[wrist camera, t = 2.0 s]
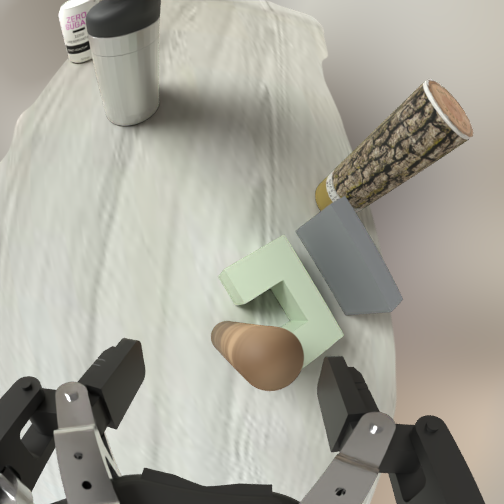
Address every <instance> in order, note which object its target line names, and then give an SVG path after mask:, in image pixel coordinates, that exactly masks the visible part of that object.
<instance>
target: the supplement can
mask: <svg viewBox="0 0 504 504" xmlns="http://www.w3.org/2000/svg"><path fill="white" fill-rule="evenodd" d="M97 3H99V0H69V1H67V2H66V3H64V4H63V5H62V6H61V9H60V12H59V20H60V24H61V29H62V34H63V38H64V42H65V46H66V50H67V54H68V58H69V60H70V61H71V62H75V63H81V62H85V61H88V60H90V59H92V54H91V49H90V44H89V39H88V32H87V27H86V15H87V13H88V12H89V10H90V9H91V8H92V7H93V6H95V5H96V4H97Z"/></svg>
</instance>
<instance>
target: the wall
mask: <svg viewBox="0 0 504 504" xmlns="http://www.w3.org/2000/svg"><path fill="white" fill-rule="evenodd" d="M296 233H297V234H298V236H299V238H300V239H301V241H302V242H303V244H304V246H305V247H306V249H307V251H308V252H309V254H310V256H311V257H312V259H313V261H314V262H315V264H316V266H317V267H318V269H319V271H320V272H321V274H322V276H323V277H324V279H325V281H326V282H327V284H328V286H329V288H330V289H331V291H332V293H333V294H334V296H335V298H336V300H337V301H338V303H339V305H340V307H341V308H342V310H343V312H344V314H345V315H355V314H371V313H384V312H392V311H393V310H394V309H395V307H397V305H398V304H399V303H400V302H401V301H402V300H403V298H402V296H401V294H400V292H399V290H398V288H397V286H396V284H395V282H394V280H393V278H392V276H391V274H390V272H389V270H388V268H387V266H386V264H385V263H384V261H383V259H382V257H381V255H380V253H379V252H378V250H377V248H376V246H375V244H374V243H373V241H372V239H371V237H370V236H369V234H368V232H367V231H366V229H365V227H364V225H363V224H362V222H361V220H360V219H359V217H358V216H357V214H356V212H355V211H354V209H353V208H352V206H351V204H350V203H349V201H348V200H347V198H346V197H345V196H344V197H342V198H340V199H338V200H336V201H335V202H333V203H331V204H330V205H328V206H327V207H326V208H325V209H323V210H322V211H321V212H319V213H318V214H317V215H316V216H314V217H313V218H312V219H310V220H309V221H308V222H307V223H305V224H304V225H303V226H301V227H300V228H299V229H298V230H296Z"/></svg>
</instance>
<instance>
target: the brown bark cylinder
mask: <svg viewBox="0 0 504 504" xmlns="http://www.w3.org/2000/svg"><path fill="white" fill-rule="evenodd" d="M472 136H473V129H472V126H471V123H470V121H469V119H468V117H467V116H466V113H465V112H464V110H463V109H462V107H461V106H460V104H459V103H458V102H457V101H456V99H455V98H454V97H453V96H452V95H451V94H450V93H449V92H448V91H447V90H446V89H445V88H444V87H443V86H442V85H440V84H439V83H438V82H436V81H434V80H432V79H427V80H426V81H425V82H424V83H423V84H422V85H420V86H419V88H417V89H416V90H415V91H414V92H413V93H412V94H411V95H410V96H409V97H408V98H407V99H406V100H405V101H404V102H403V103H402V104H401V105H400V106H399V107H398V108H397V109H396V110H395V111H394V112H393V113H392V114H391V115H390V116H389V117H388V118H387V119H386V120H385V121H383V123H381V124H380V125H379V126H378V128H376V129H375V130H374V131H373V132H372V133H371V134H370V135H369V136H368V137H367V138H366V139H365V140H364V141H363V142H362V143H361V144H360V145H359V146H358V147H357V148H356V149H355V150H354V151H353V152H352V153H351V154H350V155H349V156H348V157H347V158H346V159H345V160H344V161H343V162H341V163H340V164H339V165H338V166H337V167H336V168H335V169H334V170H333V171H332V172H331V173H330V174H329V175H328V176H327V177H326V178H325V179H324V180H323V181H322V182H321V183H320V184H319V185H318V187H317V189H316V193H315V198H316V203H317V205H318V207H319V209H320V211H322V210H323V209H325V208H326V207H327V206H328V205H330V204H331V203H333V202H335V201H336V200H338V199H340V198H342V197H344V196H345V197H346V198H347V200H348V201H349V203H350V204H351V206H352V208H353V209H354V211H355V212H356V213H357V212H358V211H360V210H362V209H363V208H365V207H366V206H368V205H370V204H371V203H373V202H374V201H376V200H377V199H379V198H381V197H382V196H384V195H385V194H387V193H388V192H390V191H392V190H393V189H394V188H396V187H398V186H399V185H401V184H402V183H404V182H405V181H407V180H409V179H410V178H412V177H413V176H415V175H416V174H418V173H419V172H421V171H422V170H424V169H425V168H427V167H428V166H430V165H431V164H433V163H434V162H436V161H437V160H439V159H441V158H442V157H443V156H445V155H446V154H448V153H449V152H451V151H452V150H454V149H455V148H457V147H458V146H460V145H461V144H463V143H464V142H466V141H467V140H469V139H470V137H472Z"/></svg>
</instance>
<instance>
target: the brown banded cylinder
mask: <svg viewBox="0 0 504 504" xmlns="http://www.w3.org/2000/svg"><path fill="white" fill-rule="evenodd" d="M211 341H212V343H213V345H214V347H215V348H216V349H217V350H218V351H219V352H220V353H221V354H222V355H223V356H224V358H225V359H226V360H227V361H228V362H229V363H230V364H231V365H232V366H233V367H234V368H235V369H236V370H237V371H238V372H239V373H240V374H241V375H242V376H243V377H244V378H245V379H246V380H247V381H248V382H249V383H250V384H251V385H252V386H254V387H256V388H258V389H261V390H265V391H275V390H279V389H282V388H284V387H286V386H288V385H290V384H291V383H292V382H293V381H294V380H295V379H296V378H297V376H298V375H299V373H300V372H301V369H302V366H303V362H304V352H303V348H302V345H301V343H300V341H299V339H298V338H297V337H296V336H295V335H294V334H293V333H292V332H290V331H289V330H286V329H284V328H280V327H273V326H263V325H255V324H247V323H239V322H231V321H223V322H220V323H219V324H217V325H216V326H215V327H214V329H213V330H212V333H211Z"/></svg>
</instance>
